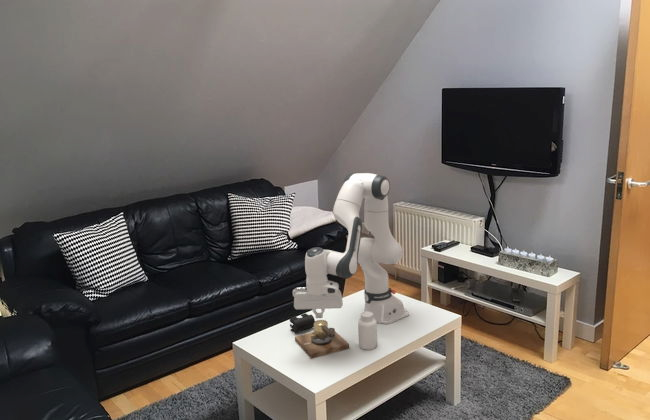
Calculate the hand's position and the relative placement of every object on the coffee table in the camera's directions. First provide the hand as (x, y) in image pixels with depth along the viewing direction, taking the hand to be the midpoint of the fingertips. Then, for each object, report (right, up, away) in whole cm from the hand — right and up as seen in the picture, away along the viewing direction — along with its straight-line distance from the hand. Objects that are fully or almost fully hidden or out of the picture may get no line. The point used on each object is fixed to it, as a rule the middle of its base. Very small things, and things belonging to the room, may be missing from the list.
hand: (319, 317), depth 235 cm
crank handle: (+3, -11, +6) cm, 13 cm away
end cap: (-8, -11, +26) cm, 29 cm away
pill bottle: (+21, -14, +9) cm, 27 cm away
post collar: (+1, -12, +11) cm, 16 cm away
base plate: (+1, -14, +12) cm, 18 cm away
